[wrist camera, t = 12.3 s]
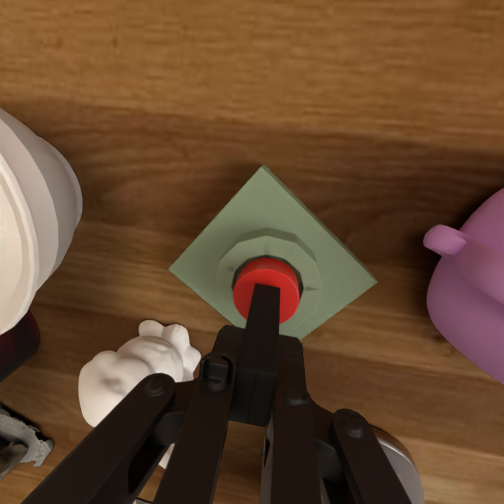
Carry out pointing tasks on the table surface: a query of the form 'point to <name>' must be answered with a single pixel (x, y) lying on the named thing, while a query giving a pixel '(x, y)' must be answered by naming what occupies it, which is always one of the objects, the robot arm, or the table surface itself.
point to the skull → (19, 444)
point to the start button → (271, 275)
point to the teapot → (471, 285)
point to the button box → (273, 255)
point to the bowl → (32, 215)
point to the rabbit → (135, 369)
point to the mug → (18, 345)
